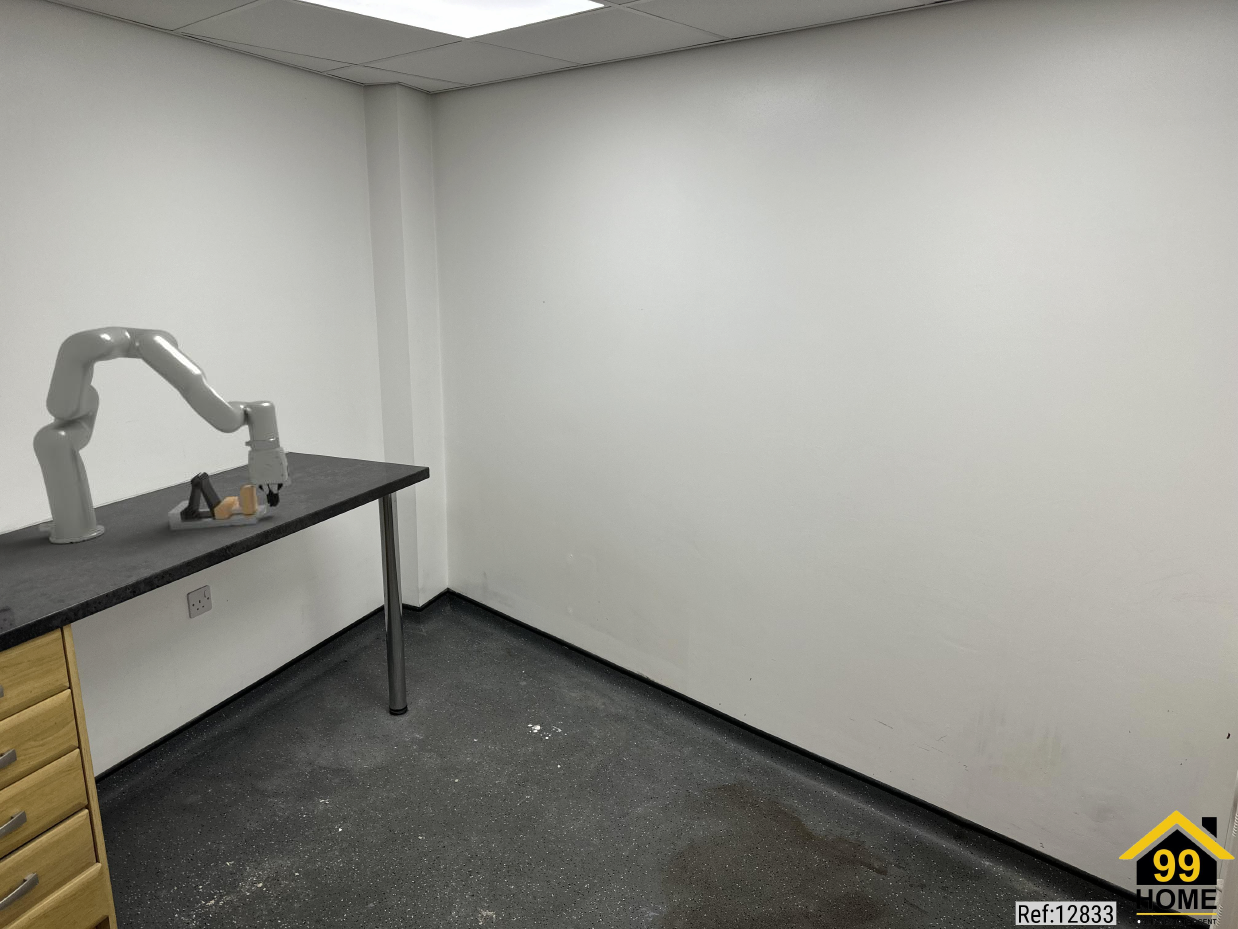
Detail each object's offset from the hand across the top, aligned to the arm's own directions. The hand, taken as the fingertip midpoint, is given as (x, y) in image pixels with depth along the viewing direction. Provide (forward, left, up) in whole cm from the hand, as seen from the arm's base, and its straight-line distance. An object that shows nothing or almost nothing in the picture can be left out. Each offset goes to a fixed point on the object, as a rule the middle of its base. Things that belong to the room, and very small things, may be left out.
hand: (274, 505), depth 225 cm
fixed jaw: (-25, 0, -1) cm, 25 cm away
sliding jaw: (-10, 0, -1) cm, 10 cm away
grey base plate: (-15, 0, -3) cm, 15 cm away
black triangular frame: (-19, 0, -2) cm, 19 cm away
